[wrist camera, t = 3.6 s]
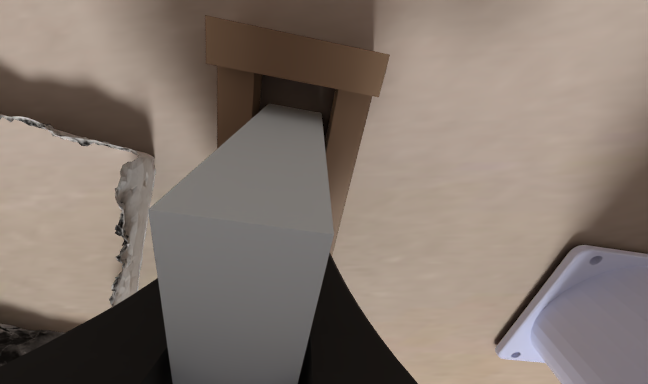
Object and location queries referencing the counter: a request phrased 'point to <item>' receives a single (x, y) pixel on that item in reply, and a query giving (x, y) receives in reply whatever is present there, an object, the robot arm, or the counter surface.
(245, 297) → the board
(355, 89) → the rack
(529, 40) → the counter surface
